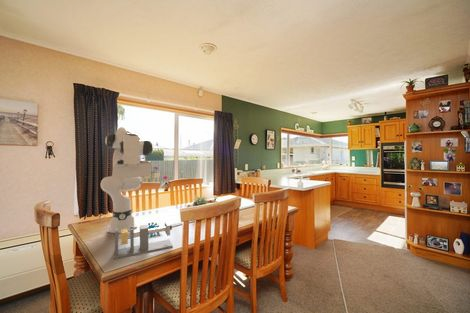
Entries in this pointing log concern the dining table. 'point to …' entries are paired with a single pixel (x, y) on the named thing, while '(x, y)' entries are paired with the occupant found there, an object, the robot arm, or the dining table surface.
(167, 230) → the shaft
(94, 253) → the dining table surface
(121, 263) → the dining table surface
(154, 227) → the gear
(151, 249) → the bearing base
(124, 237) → the spacer
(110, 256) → the dining table surface
